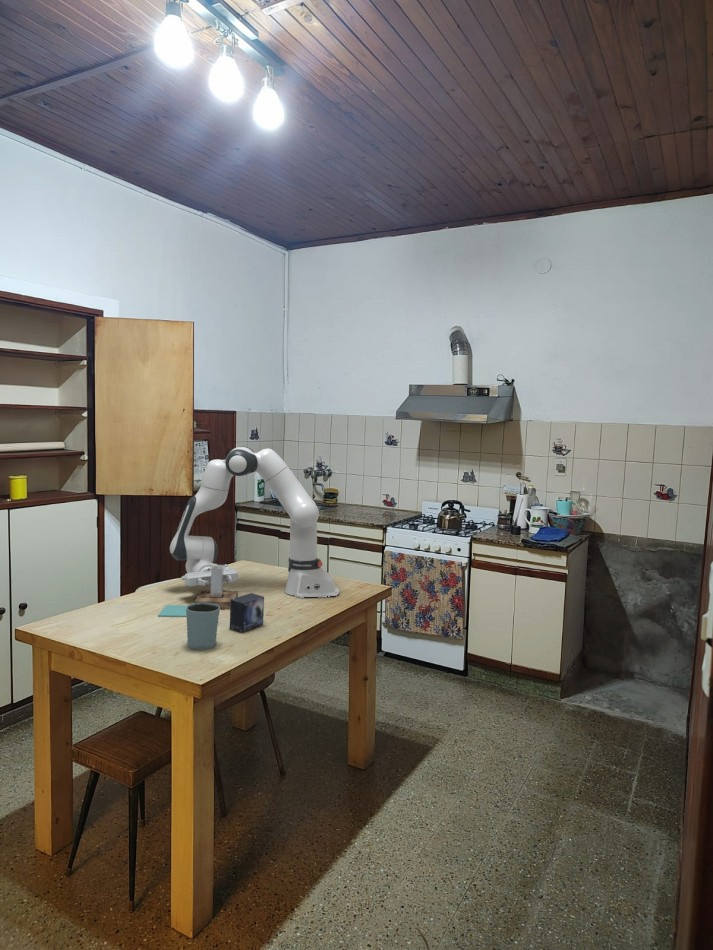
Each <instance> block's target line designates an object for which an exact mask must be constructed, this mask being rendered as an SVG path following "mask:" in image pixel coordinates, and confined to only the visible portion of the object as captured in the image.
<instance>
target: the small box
mask: <svg viewBox="0 0 713 950" xmlns="http://www.w3.org/2000/svg"><path fill="white" fill-rule="evenodd" d="M264 610H265V596H264V595H260V594H256V593H253V592H250V593H246V594H244V595H240V596H238V597H237V598H233V599H231V605H230V610H229V627H228V628H229V629H228V630H232V631H234V632H238V633H241V634H243V633H244V634H245V633H246V632H249V631H251V630H254V629H257V627H258V628H259V627H263V626H264V615H265V613H264V612H265V611H264Z"/></svg>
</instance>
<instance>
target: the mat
mask: <svg viewBox="0 0 713 950" xmlns="http://www.w3.org/2000/svg"><path fill="white" fill-rule="evenodd" d="M188 605H189V604H184V605H183V604H182V605H181V604H166V605H165V606H164V607H163V608H162V610H161V611H160V612H159V613H158V615H157V617H158V618H160V617H161V618H187V616H186V607H187V606H188Z"/></svg>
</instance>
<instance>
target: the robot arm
mask: <svg viewBox="0 0 713 950" xmlns="http://www.w3.org/2000/svg"><path fill="white" fill-rule="evenodd" d="M204 469H205V470H204V472H203V475H202V479H201V482H200V488H199V490H198V491H197V492H196V494H194V496H192V497H190V498H189V500H188V501H187V504H186V506H185V508H184V510H183V513H182V516H181V518H180V521H179V523H178V527H177V528H176V532H175V533H174V535H173V537H172V539H171V542H170V546H169V554H170V555H171V557H173V558H174V559H175V560H176V561H186V563H185V571H186V572H187V573H185V574H184V575H182V576H181V580H183V581H184V583H185V585H186V586H187V587H197V586H202V587H208V586H211V568H212V567H213V566H220V567H224V569H223V584H224V583H226V584H232V582H237V581H238V579H239V572H238V571H237V570H236V569H234V568H232V567H230V566H229V565H228V564H226V563H225V564H224V563H215V562H216V561H217V558H218V555H219V554H218V553H219V547H218V544H217V542H216V540H215V539H214V538H213V537H212V536H204V535H203V536H201V535H189V534H190V531H191V528H192V526H193V523H194V520H195V518H196V517H198V515H200V514H202V513H205V512H208V511H211V510H216V509H217V508H219V507H221V506H222V505H223V504H224V503H225V502H226V501H227V498H228V494H229V489H230V484H231V480H232V478H233V477H234V476H235V477H243V476H247V475H249V474H253V473H257V474H258V475H259V476H260V477H261V479H263V481H264V482H265V484H266V485H267V486H268V488H269V489H270V490H271V492H272V493H273V494H274V496H275V497H276V499H277V500H278V502H279V503H280V505H281V506H282V507H283V508H284V510H285V511H286V514H288V516H289V518H290V519H289V520H290V521H289V525H290V526H289V527H290V528H289V533H290V535H289V557H288V560H287V571H288V575H287V581H286V585H285V589H284V593H285V594H287V595H290V596H293V595H294V596H293V597H296V596H297V597H296V598H298V597H300V598H299V599H305V598H304V597H318V598H331V597H330V596H336V597H338V596H339V595H340V589H339V587H337V586H336V585H335V581H334V578H333V576H332V574H330V573H329V572H328V571H326V570H325V568H324V569H323V561H322V560H321V559H320V558H318V557H317V552H318V530H317V529H318V528H317V527H318V526H317V525H318V523H317V522H318V520H319V515H320V511H319V508H318V506H317V504H316V502H315V501H314V499H313V498H311V497H310V495H309V494H308V492H307V491H306V489H305V488H304V487H303V485H302V484H301V483H300V481H299V480H298V478H297V477H296V476H295V474H294V473H293V471H292V470H291V469H290V468H289V466H288V464H287V463H286V462H285V461H284V460H283V458H282V457H281V456H280V455H279V454H277V452H276V451H275V450H273V449H271V448H268V447H267V448H263V449H261V450H260V451H258V452H254V450H252V448H249V447H248V446H244V445H243V446H238V447H235V448H233V449H232V450H231V451H229V452H228V453H227V455H226V457H225V459H219V458H218V459H212V460H210V461H209V462H208V463H207V465H206V466H205V468H204ZM338 594H339V595H338ZM337 595H338V596H337ZM327 596H328V597H327Z"/></svg>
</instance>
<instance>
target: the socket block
mask: <svg viewBox="0 0 713 950" xmlns="http://www.w3.org/2000/svg"><path fill="white" fill-rule="evenodd" d="M238 595H239V591H238V590H237V591H235V590H223V598H211V590H200V593H199V594H198V596H197V597H196V598H195V600H194V603H203V602H205V603H214V604H217V605H219V606H220V609H222V610H223V611H224V610H225V609H227V611H230V605H231V599H233V598H237V597H239V596H238ZM225 611H226V610H225Z"/></svg>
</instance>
